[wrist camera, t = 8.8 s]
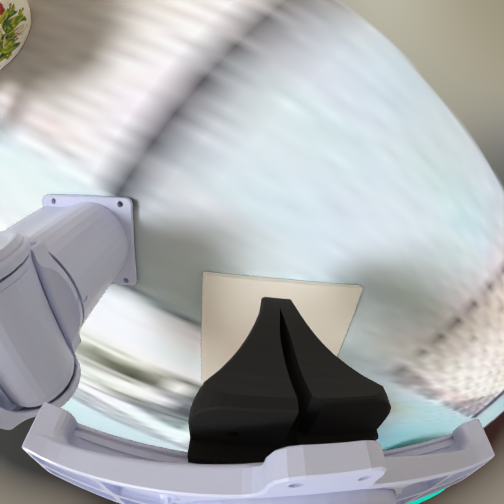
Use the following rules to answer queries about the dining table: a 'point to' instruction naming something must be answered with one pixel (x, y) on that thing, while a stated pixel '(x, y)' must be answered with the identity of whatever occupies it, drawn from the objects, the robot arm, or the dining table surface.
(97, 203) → the robot arm
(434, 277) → the dining table surface
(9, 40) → the pitcher
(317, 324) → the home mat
